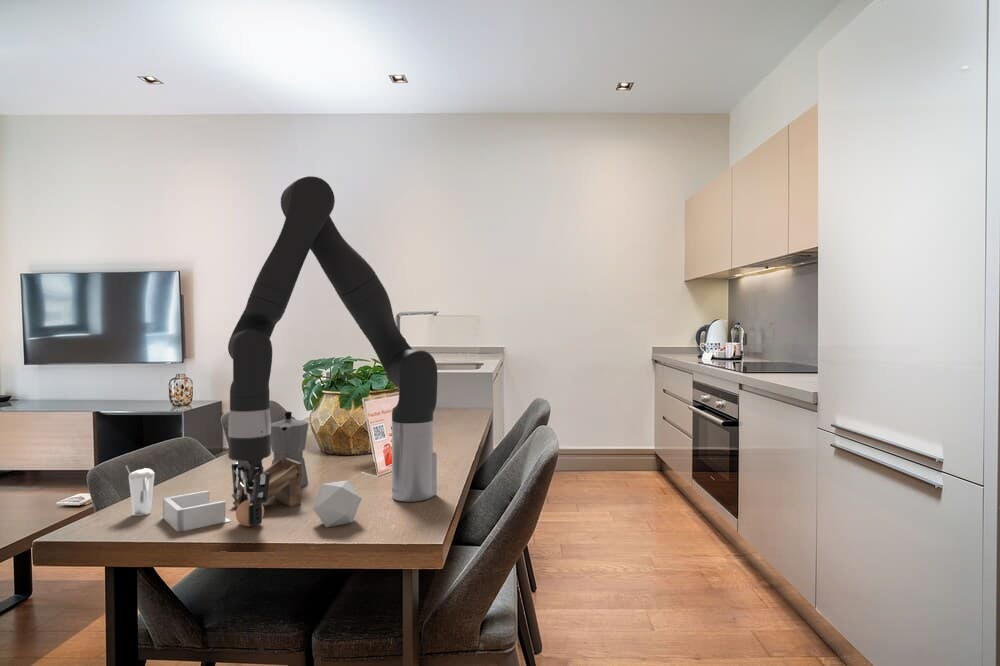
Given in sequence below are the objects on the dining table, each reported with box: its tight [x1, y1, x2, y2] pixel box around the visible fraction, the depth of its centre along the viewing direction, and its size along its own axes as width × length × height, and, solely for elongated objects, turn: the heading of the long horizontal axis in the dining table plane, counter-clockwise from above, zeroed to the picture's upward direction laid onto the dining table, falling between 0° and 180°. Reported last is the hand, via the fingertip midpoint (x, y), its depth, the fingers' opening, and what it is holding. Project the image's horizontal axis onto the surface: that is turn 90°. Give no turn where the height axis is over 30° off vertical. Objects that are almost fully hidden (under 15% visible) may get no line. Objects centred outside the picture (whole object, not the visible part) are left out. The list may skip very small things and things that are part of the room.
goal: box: [162, 490, 227, 533], centre depth 114 cm, size 8×11×4 cm
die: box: [312, 480, 362, 528], centre depth 112 cm, size 8×9×10 cm
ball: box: [235, 500, 265, 527], centre depth 110 cm, size 5×5×5 cm
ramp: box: [231, 457, 302, 509], centre depth 123 cm, size 12×8×9 cm
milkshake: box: [125, 465, 155, 517], centre depth 118 cm, size 4×5×10 cm
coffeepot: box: [271, 410, 309, 488], centre depth 141 cm, size 15×9×18 cm, turn 12°
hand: (249, 520), depth 110 cm, fingers closed on ball, 5 cm apart
